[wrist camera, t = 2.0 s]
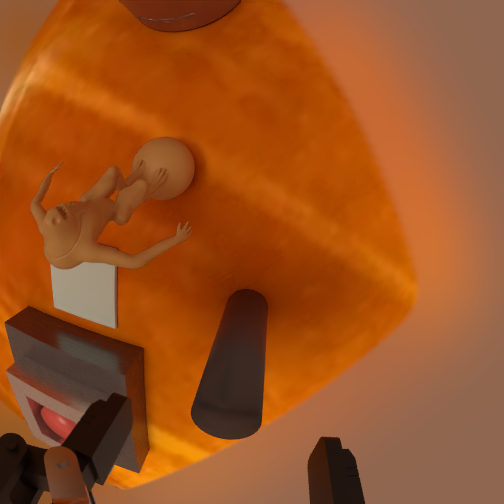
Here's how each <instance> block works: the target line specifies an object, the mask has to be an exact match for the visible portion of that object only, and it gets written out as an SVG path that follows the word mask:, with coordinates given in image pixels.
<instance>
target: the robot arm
mask: <svg viewBox="0 0 504 504" xmlns="http://www.w3.org/2000/svg"><path fill="white" fill-rule="evenodd" d="M119 1H120V2H121V3H122V4H123V5H124V6H125V7H126V8H127V9H128V10H129V11H131V12H132V13H133V14H134V15H135V16H136V17H137V18H138V19H139V20H140V21H141V22H142V23H143V24H144V25H146V26H148V27H150V28H152V29H156V30H160V31H170V32H174V31H185V30H189V29H193V28H198V27H200V26H203V25H206V24H208V23H211V22H213V21H215V20H216V19H218V18H220V17H222V16H224V15H225V14H226V13H228V12H229V11H230V10H232V9H233V8H234V7H235V6H236V5H237V4H238V2H239V1H240V0H119ZM132 425H133V415H132V405H131V399H130V398H129V397H126V396H123V395H121V394H118V393H115V392H113V393H112V394H111V395H110V397H109V398H108V400H107V401H104V400H102V399H99V400H98V401H96V402H94V403H92V404H91V405H90V406H89V408H88V409H87V410H86V412H85V414H83V416H82V417H81V419H80V421H78V423H77V424H76V426H75V427H74V428H73V430H72V431H71V433H70V434H69V436H68V437H67V438H66V440H65V441H64V443H63V444H62V445H61V446H55V447H52V448H50V449H43V448H39V447H35V446H31V445H28V444H26V442H25V440H24V439H23V438H22V437H21V436H20V435H18V434H15V433H7V434H4V435H3V436H1V437H0V504H37V503H38V501H39V499H40V497H41V495H42V493H43V491H48V492H50V494H51V498H52V504H96V501H95V498H94V495H93V492H92V487H93V485H94V484H95V482H96V483H98V484H100V485H103V484H104V482H105V480H106V478H107V476H108V474H109V473H110V471H111V469H112V467H113V465H114V463H115V461H116V459H117V457H118V455H119V453H120V451H121V449H122V447H123V445H124V443H125V441H126V439H127V438H128V436H129V434H130V432H131V429H132ZM308 480H309V495H310V504H365V501H364V496H363V492H362V487H361V483H360V478H359V473H358V469H357V464H356V460H355V457H354V456H353V454H352V453H351V452H350V451H349V449H342V445H341V441H340V438H338V437H321V438H320V439H319V441H318V443H317V445H316V446H315V448H314V450H313V452H312V453H311V455H310V457H309V460H308Z"/></svg>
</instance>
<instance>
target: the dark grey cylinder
mask: <svg viewBox="0 0 504 504" xmlns="http://www.w3.org/2000/svg"><path fill="white" fill-rule="evenodd" d="M266 331H267V303H266V300H265V299H264V297H263V296H262V295H261V294H259V293H258V292H256V291H253V290H248V289H244V290H239V291H237V292H235V293H234V294H232V295H231V296H230V298H229V299H228V302H227V305H226V308H225V310H224V313H223V316H222V319H221V322H220V325H219V328H218V331H217V334H216V337H215V340H214V343H213V346H212V349H211V352H210V355H209V358H208V361H207V364H206V367H205V370H204V373H203V376H202V378H201V381H200V384H199V387H198V390H197V393H196V396H195V399H194V402H193V405H192V408H191V417H192V419H193V421H194V423H195V424H196V425H197V426H198V427H199V428H200V429H201V430H202V431H204V432H205V433H207V434H209V435H212V436H214V437H217V438H222V439H230V440H232V439H242V438H246V437H249V436H251V435H253V434H254V433H255V432H257V431H258V429H259V428H260V426H261V423H262V408H263V390H264V372H265V352H266Z"/></svg>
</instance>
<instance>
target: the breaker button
mask: <svg viewBox="0 0 504 504" xmlns="http://www.w3.org/2000/svg"><path fill="white" fill-rule="evenodd" d="M41 415H42V418H43V419H44V421H45V422H46V424H47V425H48V426H49V427H50V428H51V429H52V430H53V431H54V432H55V433H56V434H58V435H59V436H61V437H62V438H64V439H66V438H67V437H68V436H69V434H70V433H71V431H72V430H73V428H74V427H75V426H76V423H75V422H74V421H72V420H70V419H67V418H65V417H63V416H62V415H60V414H58V413H56V412H54V411H52V410H50V409H48V408H46V407H45V406H44V407H43V408H42V410H41Z"/></svg>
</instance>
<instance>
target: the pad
mask: <svg viewBox="0 0 504 504" xmlns="http://www.w3.org/2000/svg"><path fill="white" fill-rule="evenodd" d="M102 246H104V245H102ZM105 247H108V246H105ZM109 248H113V247H109ZM113 249H116V250H118V249H117V248H113ZM51 276H52V289H53V299H54V307H55V308H58V309H60V310H63V311H66V312H68V313H71V314H74V315H76V316H79V317H82V318H85V319H88V320H90V321H93V322H96V323H99V324H102V325H105V326H108V327H111V328H115V329H116V328H117V266H113V265H109V264H105V263H89V262H83V263H81V264H80V265H78V266H76V267H74V268H72V269H67V270H63V269H58V268H56V267H54V266H53V265H52V264H51Z"/></svg>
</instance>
